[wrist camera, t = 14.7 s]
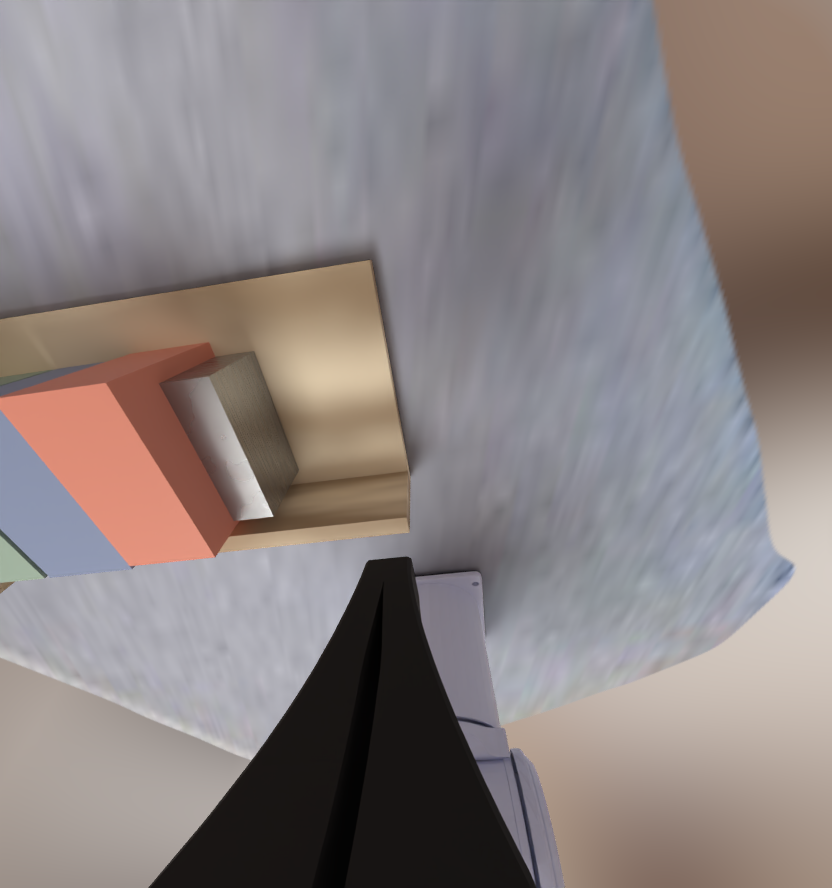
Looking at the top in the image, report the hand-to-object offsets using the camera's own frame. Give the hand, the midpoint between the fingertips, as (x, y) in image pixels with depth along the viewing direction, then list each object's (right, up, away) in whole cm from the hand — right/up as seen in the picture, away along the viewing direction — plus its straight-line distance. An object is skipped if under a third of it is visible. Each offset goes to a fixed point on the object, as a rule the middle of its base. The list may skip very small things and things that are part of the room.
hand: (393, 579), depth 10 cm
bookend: (-8, +6, +7) cm, 12 cm away
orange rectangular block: (-11, +6, +7) cm, 14 cm away
